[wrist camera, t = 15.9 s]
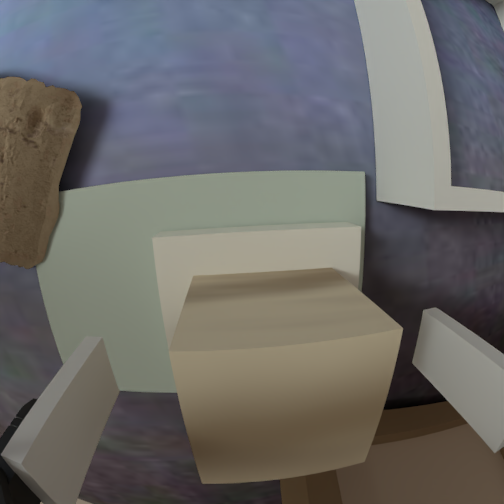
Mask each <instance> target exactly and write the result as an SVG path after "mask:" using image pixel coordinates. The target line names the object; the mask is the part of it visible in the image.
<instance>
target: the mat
mask: <svg viewBox="0 0 504 504" xmlns="http://www.w3.org/2000/svg"><path fill="white" fill-rule="evenodd" d="M59 206H60V208H59V216H58V219H57V221H56V224H55V226H54V228H53V230H52V232H51V234H50V236H49V241H48V245H47V250H46V253H45V257H44V259H43V261H42V262H41V263H39V264H37V265H36V269H37V274H38V279H39V283H40V288H41V292H42V296H43V300H44V304H45V308H46V312H47V316H48V319H49V323H50V326H51V329H52V333H53V336H54V339H55V342H56V345H57V348H58V351H59V354H60V357H61V359H62V362H63V365H64V363H65V362H66V361H67V360H68V358H69V357H70V356H71V355H72V353H73V352H74V351H75V349H76V348H77V347H78V346H79V344H80V343H81V342H82V341H83V339H84V338H85V337H86V336H92V337H103V341H104V344H105V348H106V351H107V355H108V358H109V361H110V365H111V368H112V371H113V374H114V377H115V380H116V383H117V386H118V389H119V391H134V392H160V393H177V390H176V385H175V381H174V376H173V371H172V366H171V361H170V356H169V349H168V344H167V339H166V333H165V328H164V322H163V316H162V310H161V303H160V297H159V290H158V283H157V276H156V268H155V260H154V251H153V242H152V237H154V236H155V235H156V234H158V233H159V232H162V231H176V230H191V229H207V228H223V227H241V226H259V225H280V224H303V223H329V222H349V223H352V224H355V225H358V226H361V250H360V270H359V285H358V290H359V291H361V292H362V281H363V265H364V245H365V172H356V171H255V172H232V173H214V174H199V175H186V176H174V177H164V178H154V179H144V180H136V181H127V182H119V183H112V184H105V185H98V186H91V187H85V188H78V189H72V190H66V191H61V192H59Z"/></svg>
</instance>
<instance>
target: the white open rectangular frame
mask: <svg viewBox="0 0 504 504" xmlns="http://www.w3.org/2000/svg"><path fill="white" fill-rule="evenodd" d="M486 1H487V2H489V3H490V4H492V5H493V6H494V8H495V11H496V13H497V16H498V18H499V21H500V23H501V26H502V29H503V31H504V0H486ZM354 2H355V7H356V11H357V15H358V20H359V25H360V30H361V35H362V40H363V45H364V51H365V57H366V63H367V70H368V77H369V85H370V93H371V102H372V112H373V123H374V137H375V155H376V192H377V201H382V202H389V203H395V204H401V205H407V206H413V207H419V208H425V209H430V210H449V211H484V212H504V192H500V191H492V190H484V189H475V188H466V187H455V186H451V158H450V142H449V130H448V120H447V112H446V104H445V97H444V91H443V85H442V79H441V74H440V69H439V64H438V60H437V55H436V51H435V47H434V43H433V39H432V35H431V32H430V28H429V25H428V21H427V18H426V15H425V12H424V9H423V6H422V3H421V0H354Z"/></svg>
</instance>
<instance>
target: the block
mask: <svg viewBox="0 0 504 504" xmlns="http://www.w3.org/2000/svg"><path fill="white" fill-rule="evenodd" d="M402 332H403V328H402V327H401V326H400V325H399V324H398V323H397V322H396V321H394V320H393V319H392V318H391V317H390V316H389V315H388V314H386V313H385V312H384V311H383V310H382V309H381V308H379V307H378V306H377V305H376V304H375V303H374V302H372V301H371V300H370V299H369V298H368V297H366V296H365V295H364V294H363V293H362V292H361V291H359V290H358V289H357V288H356V287H355V286H353V285H352V284H351V283H350V282H349V281H347V280H346V279H345V278H344V277H343V276H341V275H340V274H339V273H338V272H336V271H335V270H334V269H333V268H318V269H303V270H287V271H271V272H254V273H236V274H217V275H196V276H193V278H192V281H191V284H190V287H189V290H188V293H187V296H186V299H185V302H184V305H183V308H182V311H181V314H180V317H179V320H178V323H177V326H176V329H175V333H174V336H173V339H172V342H171V346H170V349H169V356H170V361H171V366H172V371H173V376H174V381H175V385H176V390H177V394H178V398H179V403H180V407H181V411H182V415H183V419H184V423H185V427H186V431H187V434H188V438H189V442H190V445H191V449H192V452H193V456H194V459H195V462H196V466H197V469H198V472H199V475H200V478H201V481H202V484H222V483H245V482H258V481H268V480H277V479H285V478H292V477H298V476H304V475H310V474H315V473H321V472H325V471H330V470H335V469H339V468H343V467H347V466H351V465H355V464H359V463H362V462H365V459H366V457H367V454H368V452H369V449H370V447H371V444H372V441H373V438H374V436H375V433H376V430H377V427H378V424H379V421H380V418H381V415H382V411H383V408H384V405H385V402H386V398H387V395H388V391H389V388H390V384H391V380H392V376H393V372H394V368H395V364H396V360H397V356H398V351H399V347H400V342H401V337H402Z"/></svg>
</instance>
